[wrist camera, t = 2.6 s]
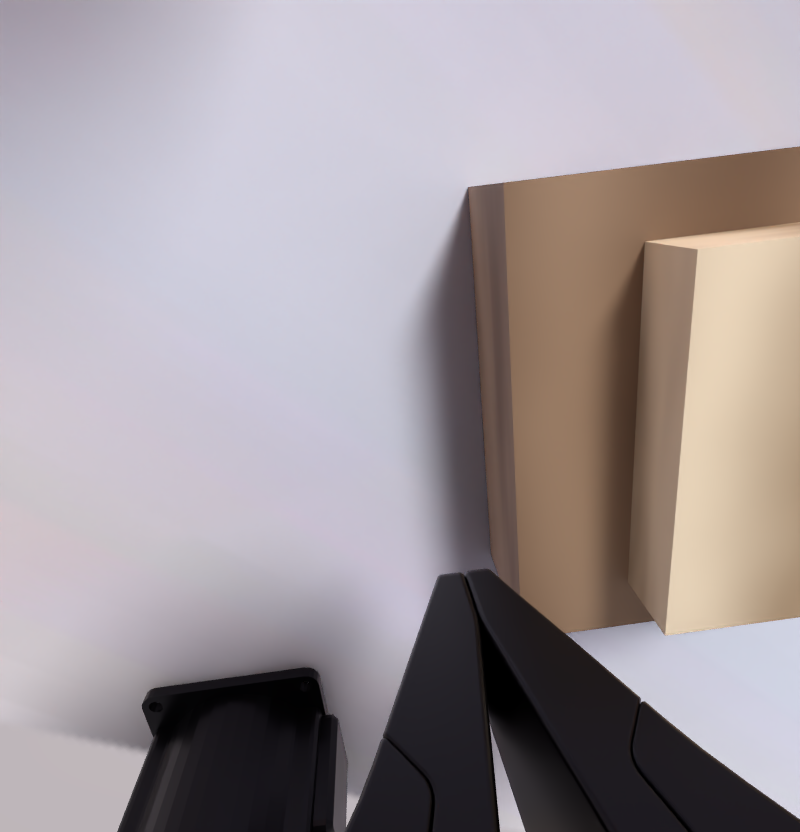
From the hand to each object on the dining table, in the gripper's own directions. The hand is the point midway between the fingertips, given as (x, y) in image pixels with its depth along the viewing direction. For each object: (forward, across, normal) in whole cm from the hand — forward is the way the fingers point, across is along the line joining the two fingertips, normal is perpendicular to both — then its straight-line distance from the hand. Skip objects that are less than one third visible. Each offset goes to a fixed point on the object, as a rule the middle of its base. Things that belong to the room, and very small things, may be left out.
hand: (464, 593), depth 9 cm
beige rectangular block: (+5, -8, 0) cm, 9 cm away
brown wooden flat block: (+9, -7, 0) cm, 11 cm away
